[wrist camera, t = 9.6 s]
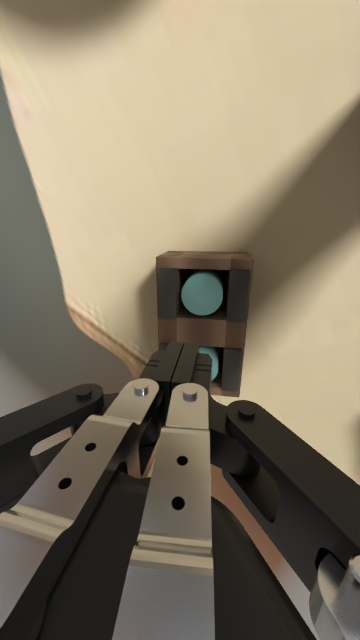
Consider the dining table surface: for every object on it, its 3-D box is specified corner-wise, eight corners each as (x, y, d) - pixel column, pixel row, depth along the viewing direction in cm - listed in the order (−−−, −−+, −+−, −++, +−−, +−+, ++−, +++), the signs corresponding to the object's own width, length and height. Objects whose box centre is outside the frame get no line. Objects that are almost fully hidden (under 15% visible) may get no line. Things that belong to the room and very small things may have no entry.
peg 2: (219, 331, 32) (219, 352, 26) (218, 359, 33) (217, 385, 28) (188, 329, 32) (181, 349, 27) (187, 356, 34) (180, 382, 28)
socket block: (247, 252, 28) (253, 260, 23) (236, 368, 34) (239, 399, 28) (168, 251, 30) (155, 257, 24) (170, 363, 35) (159, 391, 29)
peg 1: (224, 266, 29) (224, 275, 24) (221, 300, 30) (221, 316, 25) (189, 265, 29) (181, 274, 24) (188, 298, 31) (181, 314, 26)
